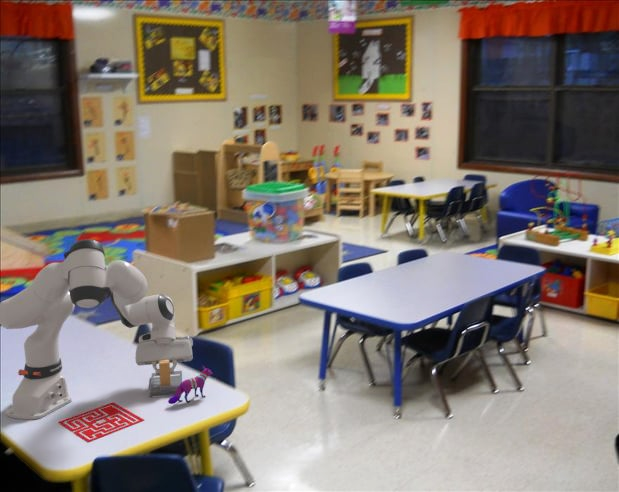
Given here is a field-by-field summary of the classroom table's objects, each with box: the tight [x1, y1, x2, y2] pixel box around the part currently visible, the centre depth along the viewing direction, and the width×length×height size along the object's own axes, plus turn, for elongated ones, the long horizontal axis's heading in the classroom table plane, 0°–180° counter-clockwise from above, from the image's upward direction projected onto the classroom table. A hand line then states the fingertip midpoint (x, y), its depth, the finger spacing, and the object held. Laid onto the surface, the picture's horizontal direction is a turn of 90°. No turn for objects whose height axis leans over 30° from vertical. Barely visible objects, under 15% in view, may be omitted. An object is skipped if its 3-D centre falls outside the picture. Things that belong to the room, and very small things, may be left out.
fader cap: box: [158, 359, 171, 386], centre depth 259 cm, size 4×4×9 cm
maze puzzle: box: [58, 401, 145, 443], centre depth 237 cm, size 20×20×1 cm
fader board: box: [149, 370, 183, 398], centre depth 264 cm, size 18×11×3 cm, turn 9°
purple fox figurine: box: [167, 365, 213, 405], centre depth 250 cm, size 4×18×10 cm, turn 130°
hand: (164, 373), depth 258 cm, fingers closed on fader cap, 3 cm apart
